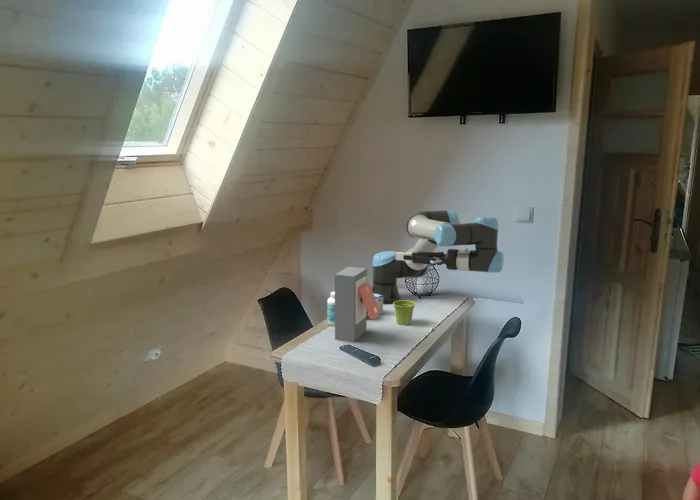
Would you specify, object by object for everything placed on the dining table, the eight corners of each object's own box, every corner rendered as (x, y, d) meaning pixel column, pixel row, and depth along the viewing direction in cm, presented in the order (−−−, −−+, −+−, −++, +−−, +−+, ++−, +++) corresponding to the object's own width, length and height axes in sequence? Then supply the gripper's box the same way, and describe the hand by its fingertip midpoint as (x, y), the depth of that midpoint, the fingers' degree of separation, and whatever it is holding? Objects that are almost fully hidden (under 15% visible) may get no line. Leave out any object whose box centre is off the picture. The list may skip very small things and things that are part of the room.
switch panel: (348, 327, 226) (348, 266, 221) (371, 331, 222) (372, 269, 217) (335, 339, 213) (334, 274, 208) (359, 342, 209) (359, 277, 204)
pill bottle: (324, 325, 229) (324, 294, 227) (331, 319, 236) (331, 289, 233) (341, 327, 227) (341, 296, 224) (347, 321, 234) (347, 291, 231)
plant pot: (413, 327, 227) (414, 307, 225) (391, 325, 229) (391, 305, 227) (415, 320, 236) (416, 300, 234) (394, 318, 238) (394, 299, 236)
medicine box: (363, 312, 247) (363, 293, 245) (369, 309, 250) (369, 291, 248) (377, 315, 242) (377, 296, 240) (383, 313, 245) (383, 294, 244)
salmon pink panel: (377, 313, 216) (365, 283, 216) (381, 312, 216) (369, 282, 215) (370, 319, 209) (358, 288, 209) (374, 318, 208) (362, 287, 208)
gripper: (462, 246, 201) (401, 243, 211) (454, 253, 190) (390, 249, 199) (462, 266, 203) (402, 262, 212) (454, 274, 191) (390, 269, 201)
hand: (396, 256), depth 206 cm, fingers closed
